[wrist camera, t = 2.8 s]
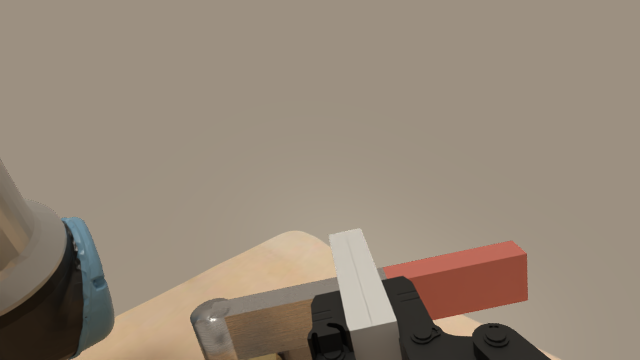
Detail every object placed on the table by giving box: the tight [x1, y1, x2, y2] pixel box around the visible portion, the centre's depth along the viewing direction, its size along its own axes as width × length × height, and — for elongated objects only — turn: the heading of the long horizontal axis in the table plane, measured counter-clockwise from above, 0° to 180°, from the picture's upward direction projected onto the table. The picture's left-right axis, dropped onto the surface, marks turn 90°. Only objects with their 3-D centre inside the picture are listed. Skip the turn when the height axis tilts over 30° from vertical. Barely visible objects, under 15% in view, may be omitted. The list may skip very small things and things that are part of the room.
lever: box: [190, 241, 528, 360], centre depth 30 cm, size 24×3×7 cm, turn 95°
